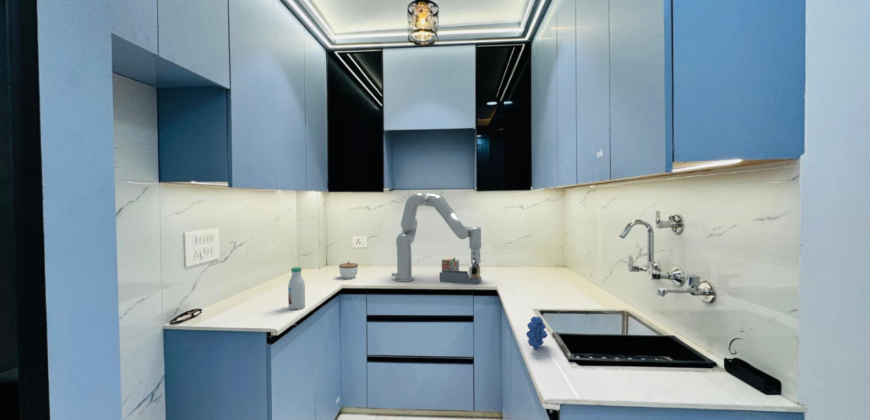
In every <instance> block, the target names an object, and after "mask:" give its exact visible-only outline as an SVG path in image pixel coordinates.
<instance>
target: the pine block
mask: <svg viewBox="0 0 870 420" xmlns="http://www.w3.org/2000/svg"><path fill="white" fill-rule="evenodd" d="M470 267H471V278H474V279H479V278H480V276H481V266H480V265H479V266H476V268H477V274H472V266H470Z"/></svg>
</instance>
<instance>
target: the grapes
mask: <svg viewBox="0 0 870 420" xmlns="http://www.w3.org/2000/svg"><path fill="white" fill-rule="evenodd" d="M526 325H527V328H528V329H529V330H527V332H526V333H525V335H526V337H527V339H528V340H527V343H528V344H529V346H530V347H532V348H533V349H535V350H537V349H539V348H540V346H541V347H542V345H543V344H544V343H545V342H544V339H546V338H547V337H548V333H547V331H546V330H545V329H546V325H545V323H544V321H543V319H542V317H541V316H532V317H531V318H530V321H529V322H527V324H526Z"/></svg>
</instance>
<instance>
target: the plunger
mask: <svg viewBox="0 0 870 420" xmlns="http://www.w3.org/2000/svg"><path fill="white" fill-rule="evenodd" d="M471 267H472V266H469V267H468V274H466V276H469V278H471Z"/></svg>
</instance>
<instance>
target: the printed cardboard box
mask: <svg viewBox="0 0 870 420" xmlns="http://www.w3.org/2000/svg"><path fill="white" fill-rule="evenodd" d="M443 270H453V271H460V259H458V258H456V257H455V256H446V257H445V258H443V259H441V272H443Z"/></svg>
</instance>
